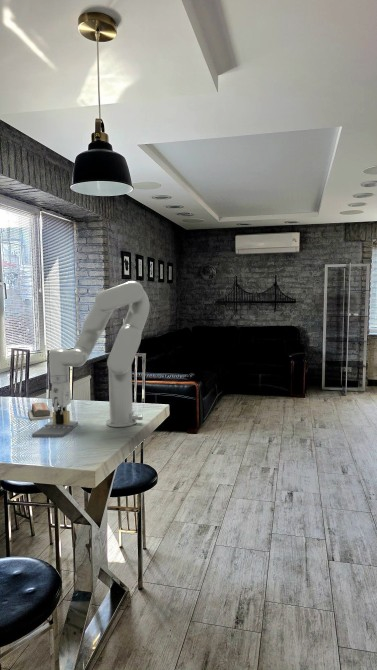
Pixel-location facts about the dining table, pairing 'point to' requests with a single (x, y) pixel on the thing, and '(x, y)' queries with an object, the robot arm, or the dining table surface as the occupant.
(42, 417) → the packaged product
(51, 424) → the yellow block
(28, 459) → the dining table surface
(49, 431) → the ticket board
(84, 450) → the dining table surface
